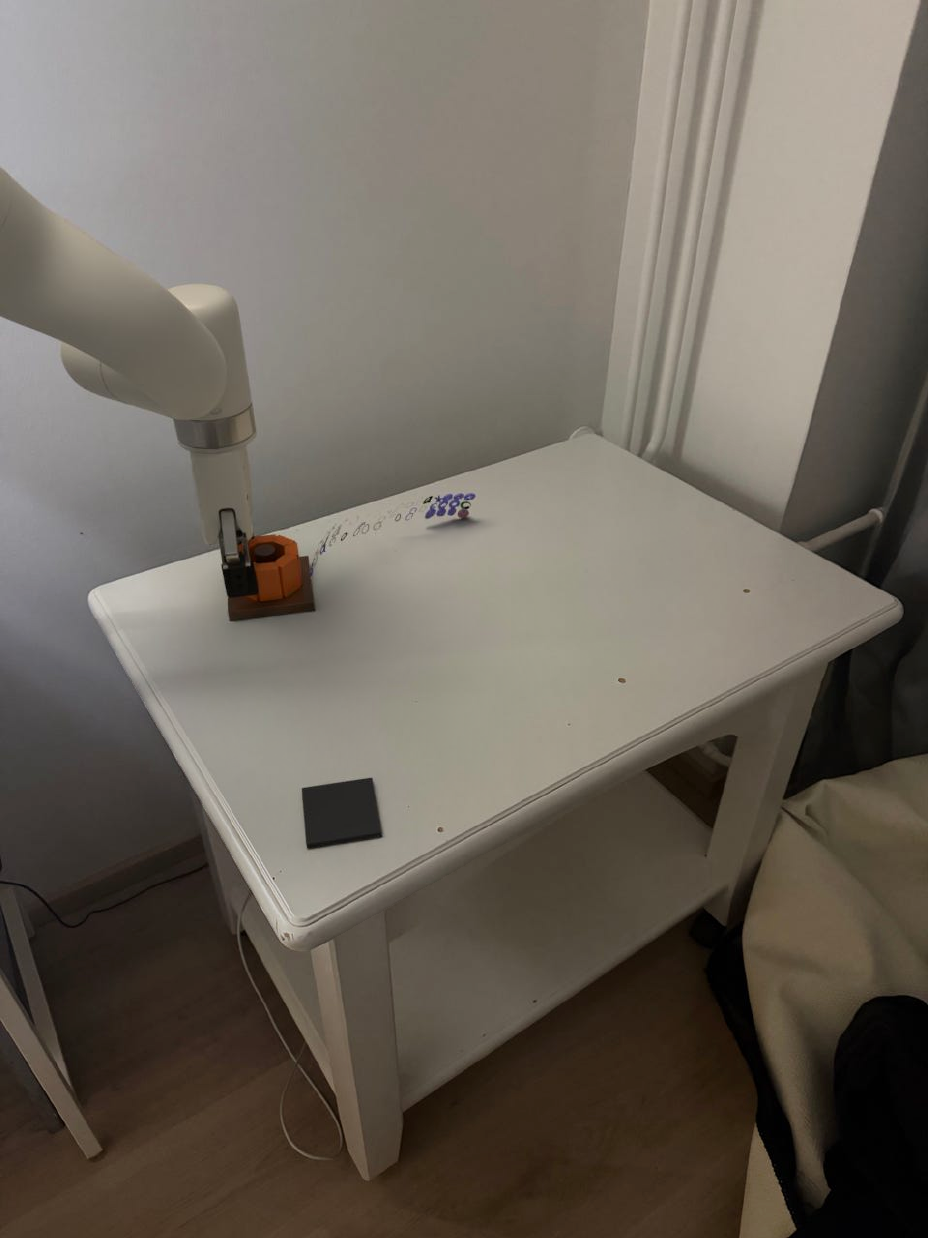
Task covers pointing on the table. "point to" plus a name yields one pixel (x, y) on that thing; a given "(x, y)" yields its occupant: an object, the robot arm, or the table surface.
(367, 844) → the table surface
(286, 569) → the orange octagonal tube
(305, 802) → the mat
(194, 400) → the robot arm
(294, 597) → the rack
